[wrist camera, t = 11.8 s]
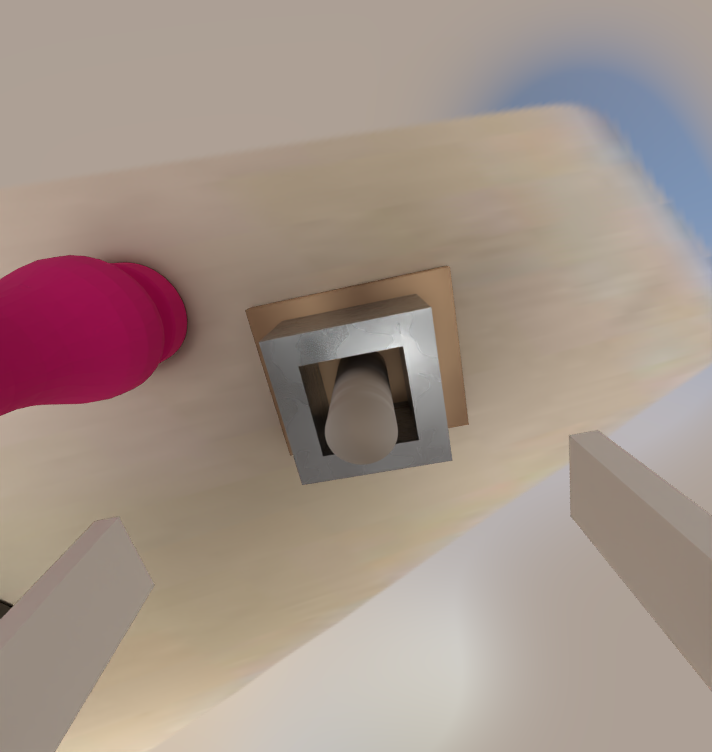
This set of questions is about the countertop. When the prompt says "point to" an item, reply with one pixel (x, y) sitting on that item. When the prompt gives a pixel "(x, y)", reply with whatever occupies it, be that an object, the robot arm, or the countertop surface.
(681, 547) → the robot arm
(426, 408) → the grey square ring block
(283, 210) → the countertop surface
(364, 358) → the peg on square base
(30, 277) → the pepper mill
